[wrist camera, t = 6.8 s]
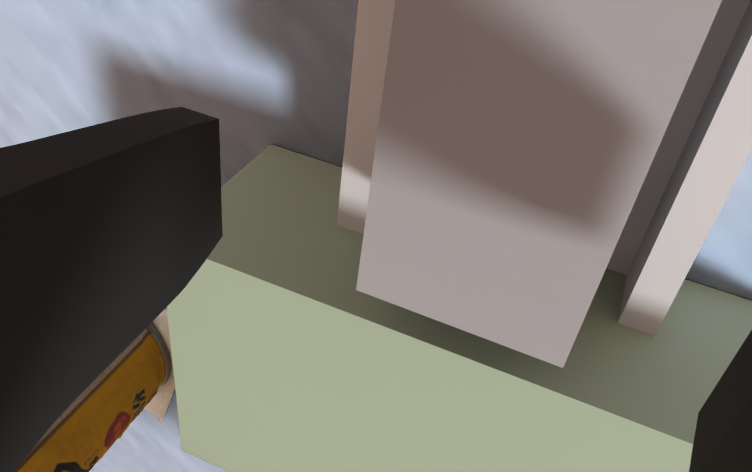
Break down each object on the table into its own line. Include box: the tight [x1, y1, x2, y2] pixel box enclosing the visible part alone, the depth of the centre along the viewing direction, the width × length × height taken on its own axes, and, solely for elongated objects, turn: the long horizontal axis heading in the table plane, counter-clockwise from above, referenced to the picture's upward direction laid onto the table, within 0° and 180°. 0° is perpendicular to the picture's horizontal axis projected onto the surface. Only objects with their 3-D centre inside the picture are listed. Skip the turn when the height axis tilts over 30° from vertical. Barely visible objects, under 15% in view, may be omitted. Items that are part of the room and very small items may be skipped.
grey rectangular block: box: [356, 0, 722, 368], centre depth 12 cm, size 7×4×5 cm, turn 173°
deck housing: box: [166, 0, 752, 472], centre depth 15 cm, size 18×14×5 cm
